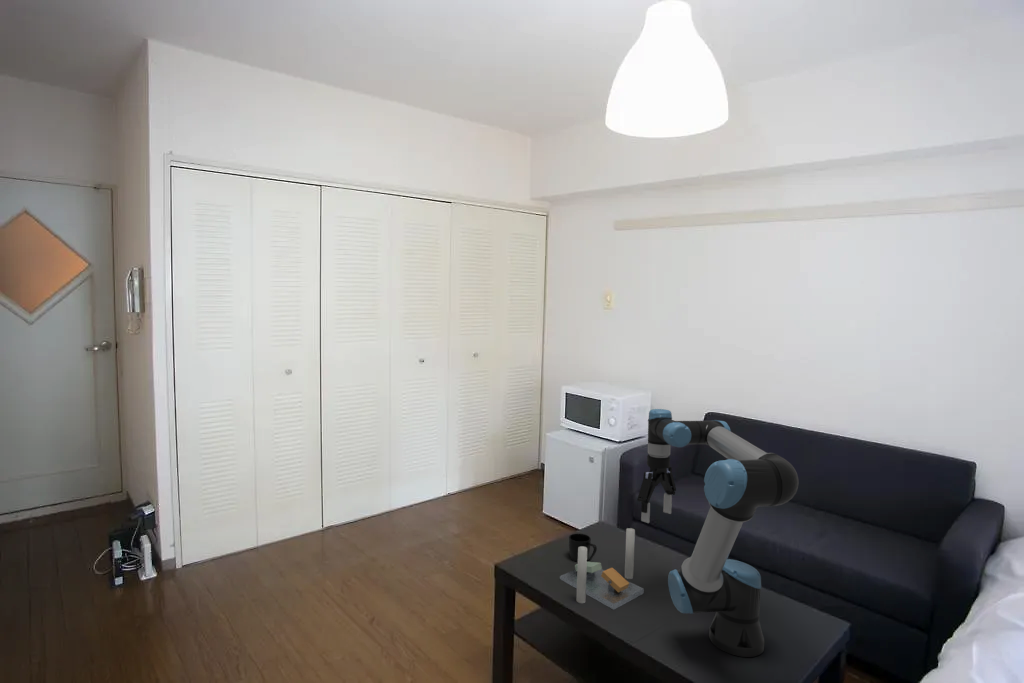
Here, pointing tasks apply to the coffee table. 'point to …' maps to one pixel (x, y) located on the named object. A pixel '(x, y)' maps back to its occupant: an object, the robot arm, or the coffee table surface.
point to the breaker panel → (604, 589)
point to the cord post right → (629, 553)
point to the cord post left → (581, 574)
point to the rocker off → (615, 579)
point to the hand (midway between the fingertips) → (656, 517)
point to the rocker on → (591, 566)
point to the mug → (578, 541)
